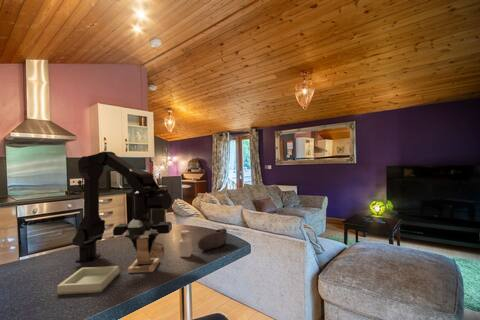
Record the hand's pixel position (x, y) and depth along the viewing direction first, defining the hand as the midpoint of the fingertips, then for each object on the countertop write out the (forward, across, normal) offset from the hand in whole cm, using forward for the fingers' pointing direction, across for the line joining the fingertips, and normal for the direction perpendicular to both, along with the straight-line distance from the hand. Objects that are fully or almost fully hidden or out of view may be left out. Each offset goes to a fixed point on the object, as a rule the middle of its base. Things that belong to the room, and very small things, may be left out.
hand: (144, 252), depth 88 cm
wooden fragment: (+6, -3, +18) cm, 19 cm away
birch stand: (+5, 0, 0) cm, 5 cm away
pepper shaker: (+5, +13, +9) cm, 17 cm away
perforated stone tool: (+5, +23, +17) cm, 29 cm away
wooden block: (+2, 0, 0) cm, 2 cm away
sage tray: (+5, -13, -10) cm, 17 cm away
